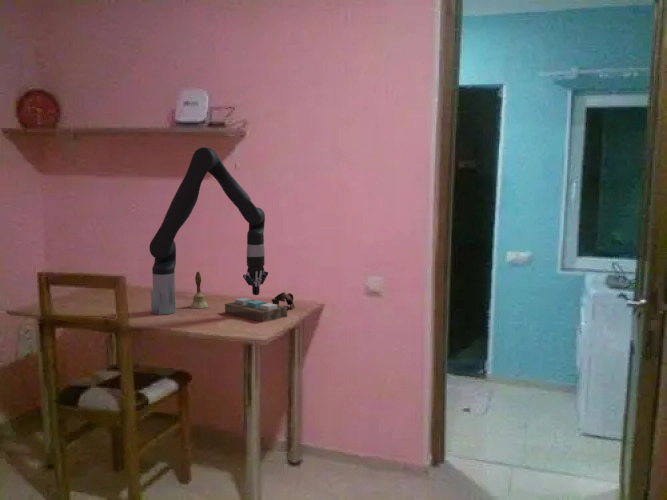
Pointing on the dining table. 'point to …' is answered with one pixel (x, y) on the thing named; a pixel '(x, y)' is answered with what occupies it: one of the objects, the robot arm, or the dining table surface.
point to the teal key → (255, 303)
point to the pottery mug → (282, 298)
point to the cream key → (268, 306)
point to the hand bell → (198, 295)
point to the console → (255, 312)
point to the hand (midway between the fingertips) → (255, 294)
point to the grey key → (242, 301)
